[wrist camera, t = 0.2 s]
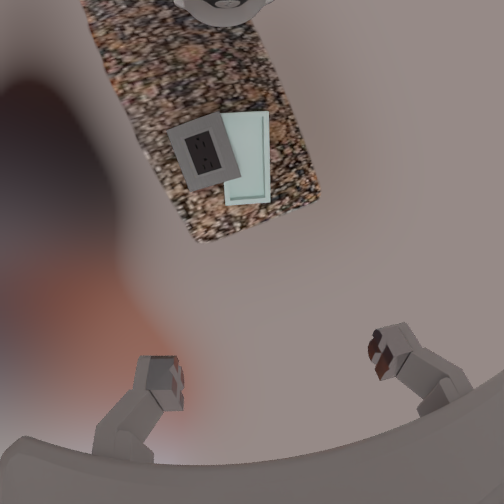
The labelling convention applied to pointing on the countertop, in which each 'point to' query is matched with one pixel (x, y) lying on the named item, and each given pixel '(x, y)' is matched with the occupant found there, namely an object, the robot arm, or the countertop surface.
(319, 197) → the countertop surface
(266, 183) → the parts tray
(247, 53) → the countertop surface
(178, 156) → the electrical outlet
